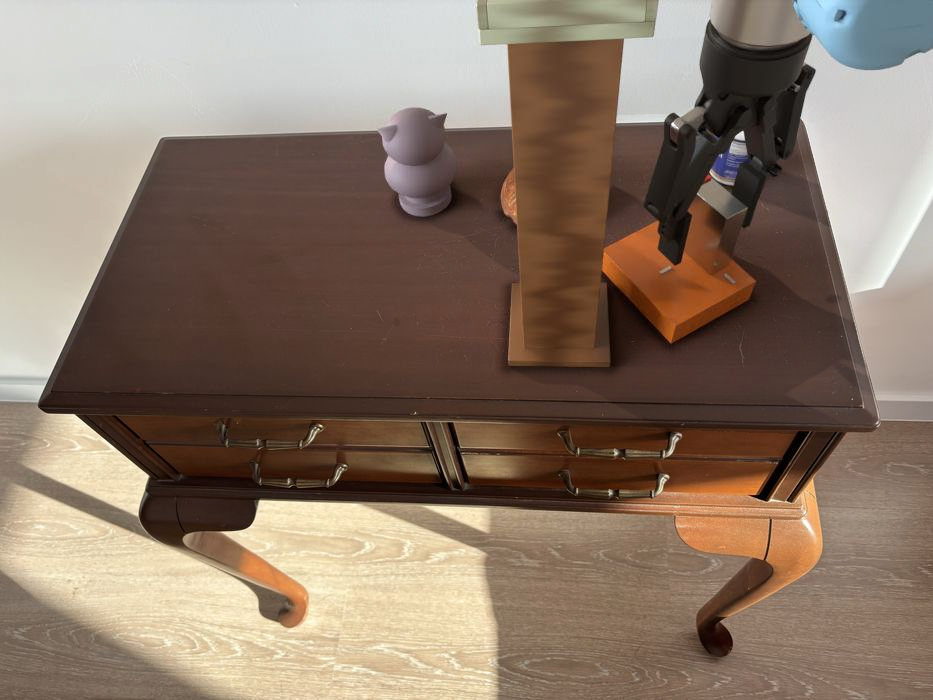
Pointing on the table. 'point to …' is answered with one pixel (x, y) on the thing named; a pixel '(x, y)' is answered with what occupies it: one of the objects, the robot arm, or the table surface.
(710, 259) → the steel brick red tip
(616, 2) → the brown wooden square column
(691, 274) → the orange flat square block
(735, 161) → the pill bottle
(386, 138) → the cat figurine
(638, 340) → the table surface
